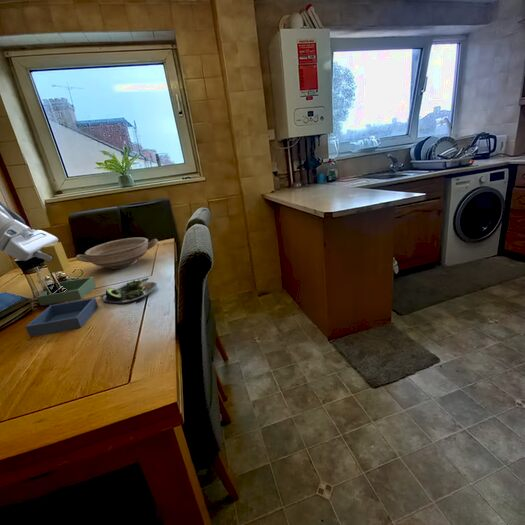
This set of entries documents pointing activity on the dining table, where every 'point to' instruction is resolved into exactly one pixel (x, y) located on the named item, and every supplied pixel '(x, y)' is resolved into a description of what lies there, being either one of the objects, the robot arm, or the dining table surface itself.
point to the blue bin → (62, 317)
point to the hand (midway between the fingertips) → (56, 256)
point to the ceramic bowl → (118, 252)
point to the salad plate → (129, 292)
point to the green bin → (68, 291)
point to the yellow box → (55, 257)
